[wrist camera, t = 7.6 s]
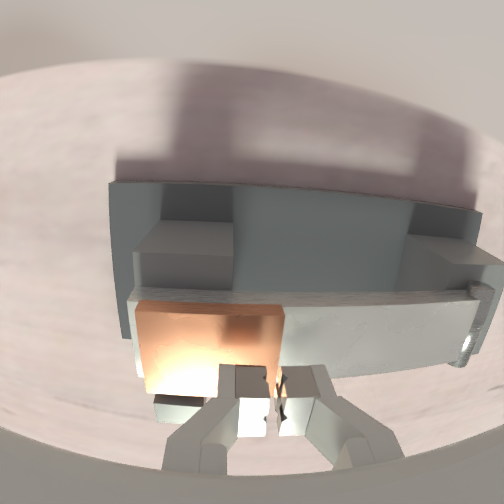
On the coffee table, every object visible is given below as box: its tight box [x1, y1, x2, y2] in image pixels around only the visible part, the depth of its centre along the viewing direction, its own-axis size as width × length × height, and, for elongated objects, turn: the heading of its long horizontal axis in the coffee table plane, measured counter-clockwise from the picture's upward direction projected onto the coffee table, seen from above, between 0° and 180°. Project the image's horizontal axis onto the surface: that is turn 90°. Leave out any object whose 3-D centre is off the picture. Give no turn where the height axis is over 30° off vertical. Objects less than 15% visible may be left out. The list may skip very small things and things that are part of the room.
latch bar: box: [127, 280, 496, 397], centre depth 12 cm, size 17×4×2 cm, turn 86°
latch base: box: [109, 181, 504, 424], centre depth 15 cm, size 24×10×9 cm, turn 86°
